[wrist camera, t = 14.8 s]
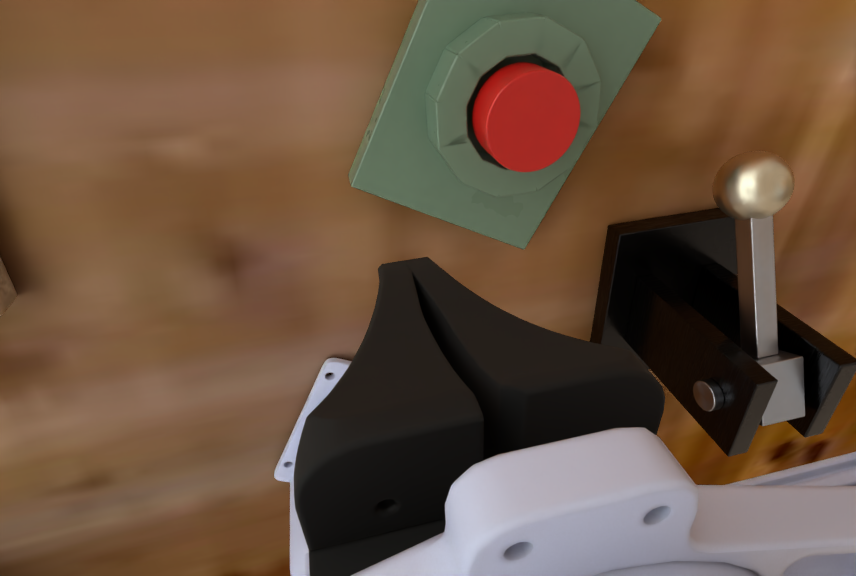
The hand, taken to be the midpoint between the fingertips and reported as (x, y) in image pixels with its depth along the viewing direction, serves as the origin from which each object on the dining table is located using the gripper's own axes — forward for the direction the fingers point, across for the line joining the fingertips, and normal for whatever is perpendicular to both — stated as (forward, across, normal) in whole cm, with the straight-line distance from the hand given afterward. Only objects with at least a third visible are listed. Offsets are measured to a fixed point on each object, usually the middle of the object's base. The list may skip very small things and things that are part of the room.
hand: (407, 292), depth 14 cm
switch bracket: (+10, -16, +10) cm, 22 cm away
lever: (+6, -16, +6) cm, 18 cm away
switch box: (+10, -6, -2) cm, 12 cm away
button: (+8, -6, -2) cm, 10 cm away
